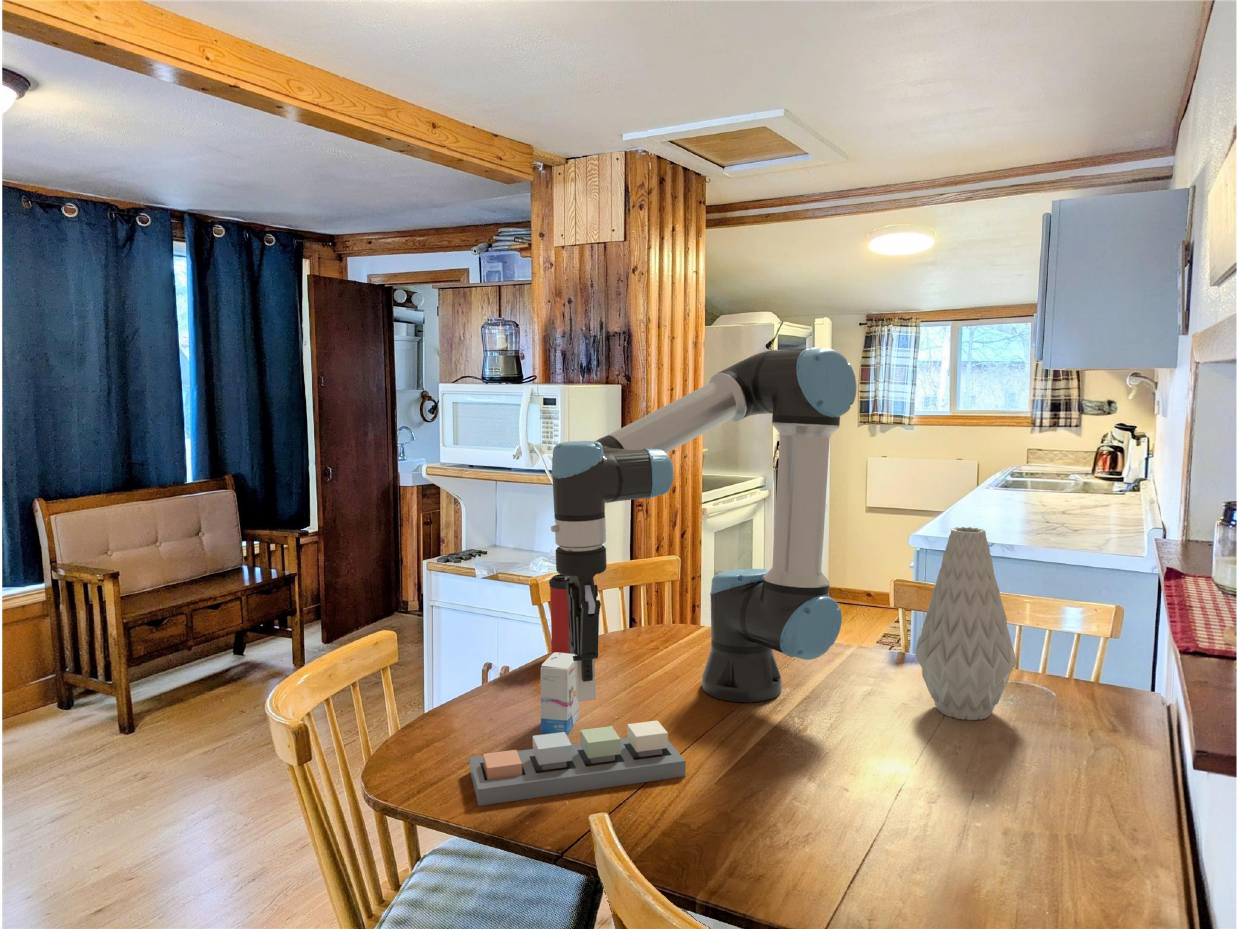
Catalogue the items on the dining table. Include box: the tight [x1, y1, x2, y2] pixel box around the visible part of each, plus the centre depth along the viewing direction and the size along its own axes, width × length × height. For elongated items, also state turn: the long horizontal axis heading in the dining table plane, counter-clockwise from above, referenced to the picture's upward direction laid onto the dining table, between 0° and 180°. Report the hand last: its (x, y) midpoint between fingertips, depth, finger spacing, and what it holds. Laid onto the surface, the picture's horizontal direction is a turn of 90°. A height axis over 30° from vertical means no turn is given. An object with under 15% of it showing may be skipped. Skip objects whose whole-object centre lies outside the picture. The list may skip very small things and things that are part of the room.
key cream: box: [626, 720, 669, 758], centre depth 133 cm, size 5×5×4 cm
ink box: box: [540, 652, 580, 736], centre depth 149 cm, size 9×5×12 cm, turn 168°
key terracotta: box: [482, 749, 522, 780], centre depth 128 cm, size 5×5×4 cm
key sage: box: [580, 725, 621, 764], centre depth 131 cm, size 5×5×4 cm
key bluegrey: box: [532, 732, 573, 771], centre depth 129 cm, size 5×5×4 cm
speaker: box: [548, 573, 574, 656], centre depth 184 cm, size 8×8×18 cm
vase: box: [914, 526, 1018, 721], centre depth 152 cm, size 17×17×33 cm
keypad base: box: [469, 736, 686, 807], centre depth 131 cm, size 31×11×2 cm, turn 106°
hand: (586, 698), depth 130 cm, fingers closed
